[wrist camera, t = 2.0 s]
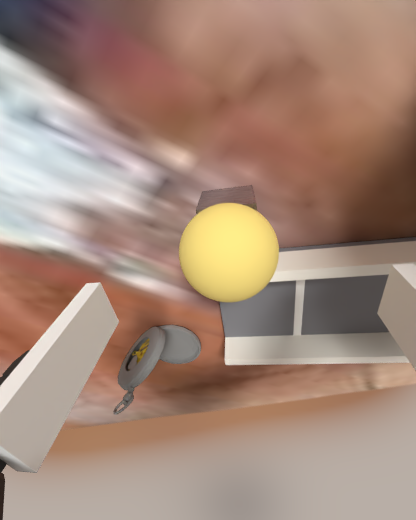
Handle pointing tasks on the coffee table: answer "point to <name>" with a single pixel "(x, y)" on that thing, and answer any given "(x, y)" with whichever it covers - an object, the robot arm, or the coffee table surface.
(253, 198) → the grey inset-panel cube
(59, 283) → the coffee table surface
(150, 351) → the pocket watch
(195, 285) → the ball
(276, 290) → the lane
